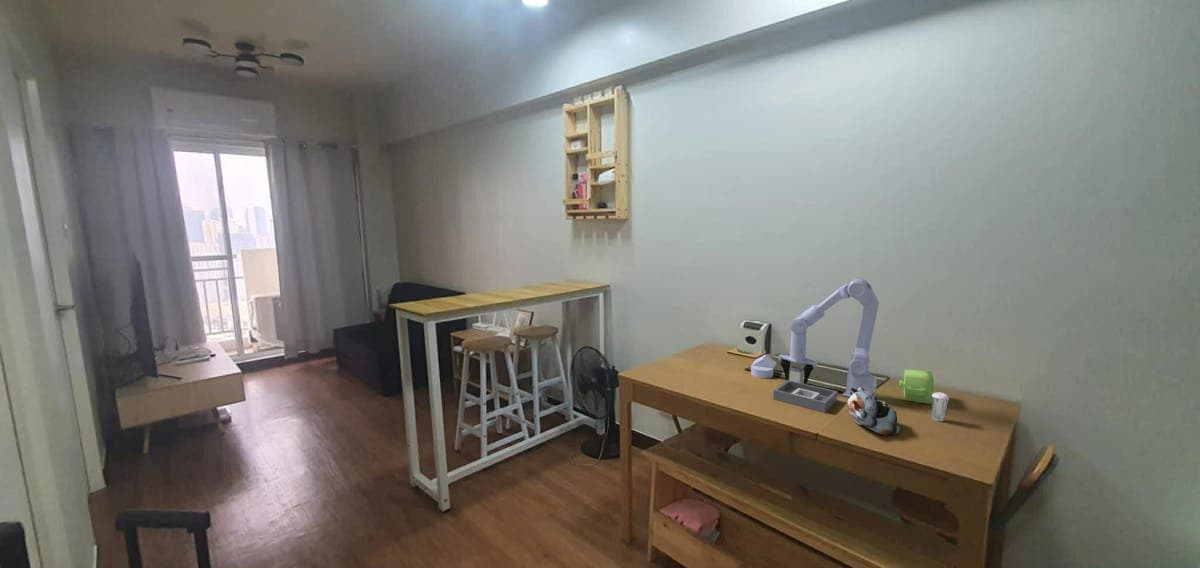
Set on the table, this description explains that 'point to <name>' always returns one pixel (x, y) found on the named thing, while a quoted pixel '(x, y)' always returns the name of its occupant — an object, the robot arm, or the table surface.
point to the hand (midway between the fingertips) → (796, 380)
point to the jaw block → (796, 374)
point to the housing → (805, 395)
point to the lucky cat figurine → (872, 412)
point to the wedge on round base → (763, 367)
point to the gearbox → (918, 386)
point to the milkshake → (939, 406)
